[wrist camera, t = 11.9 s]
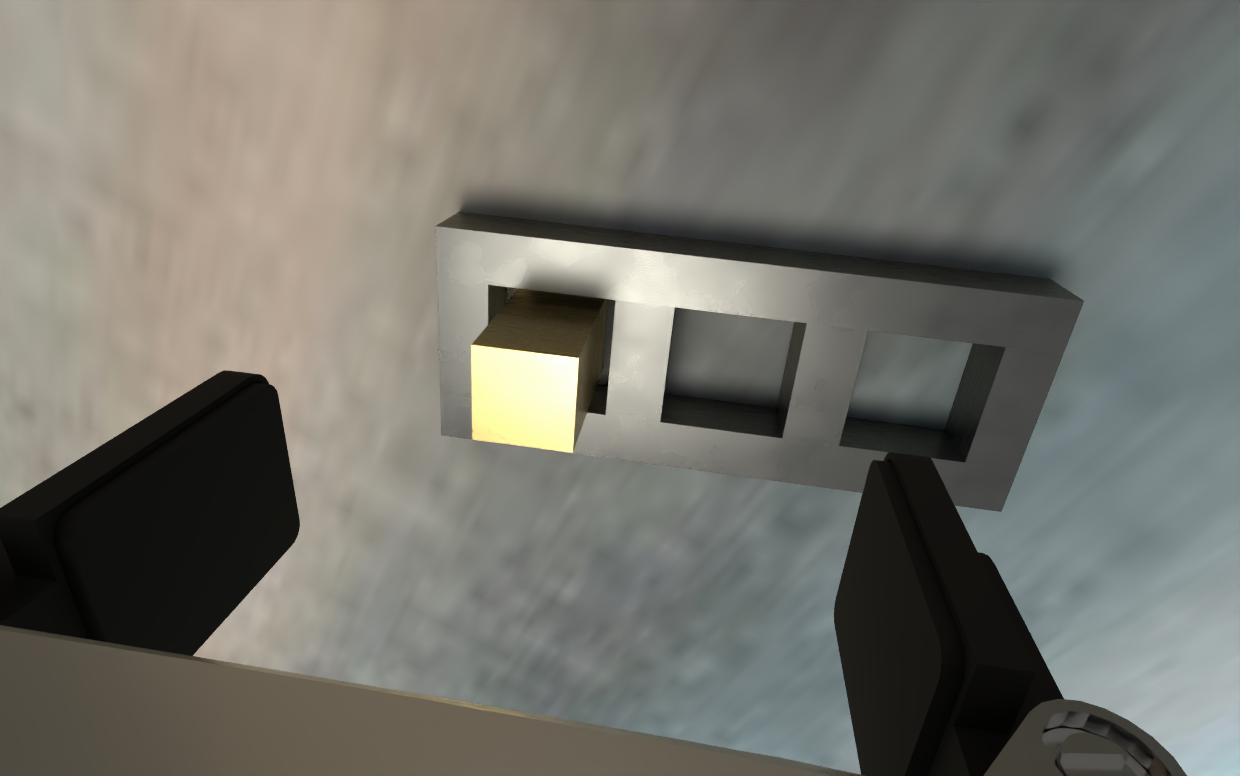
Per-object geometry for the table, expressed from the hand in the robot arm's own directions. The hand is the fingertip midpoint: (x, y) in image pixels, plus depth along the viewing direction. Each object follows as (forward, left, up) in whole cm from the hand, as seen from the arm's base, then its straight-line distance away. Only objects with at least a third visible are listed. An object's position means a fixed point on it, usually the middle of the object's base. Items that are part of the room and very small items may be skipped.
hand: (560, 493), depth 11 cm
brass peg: (+4, +6, -22) cm, 23 cm away
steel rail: (-4, +6, -22) cm, 23 cm away
